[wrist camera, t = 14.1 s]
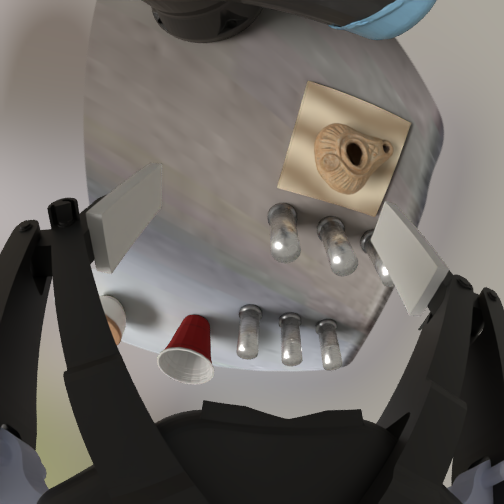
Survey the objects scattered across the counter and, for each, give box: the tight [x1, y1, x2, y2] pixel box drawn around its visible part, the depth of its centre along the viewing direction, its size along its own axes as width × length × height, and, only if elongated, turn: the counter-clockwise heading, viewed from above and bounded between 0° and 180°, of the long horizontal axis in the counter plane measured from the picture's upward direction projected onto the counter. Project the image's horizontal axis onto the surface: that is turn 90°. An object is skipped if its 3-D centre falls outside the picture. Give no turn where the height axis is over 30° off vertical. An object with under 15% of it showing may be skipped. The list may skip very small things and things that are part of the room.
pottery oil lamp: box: [314, 123, 394, 195], centre depth 31 cm, size 9×12×7 cm
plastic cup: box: [157, 315, 214, 384], centre depth 50 cm, size 11×11×12 cm
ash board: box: [277, 81, 411, 217], centre depth 35 cm, size 16×16×1 cm
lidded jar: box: [99, 295, 126, 345], centre depth 50 cm, size 11×11×9 cm
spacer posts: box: [237, 203, 395, 370], centre depth 43 cm, size 25×20×10 cm
